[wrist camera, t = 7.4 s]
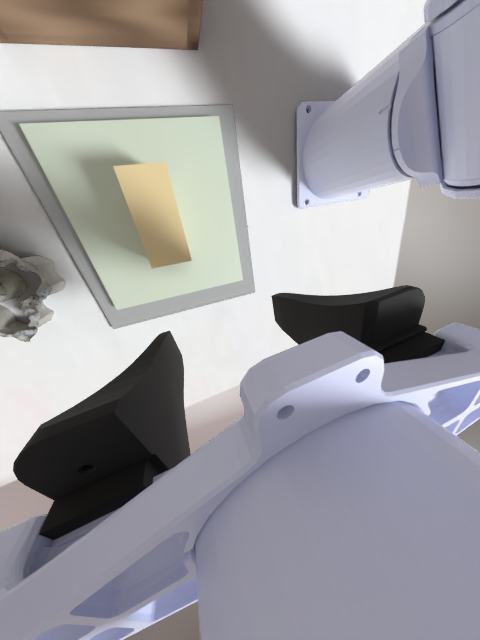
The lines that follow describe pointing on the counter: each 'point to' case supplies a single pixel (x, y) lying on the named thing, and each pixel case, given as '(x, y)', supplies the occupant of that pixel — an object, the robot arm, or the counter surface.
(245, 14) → the counter surface
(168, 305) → the mat
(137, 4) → the box base
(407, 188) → the counter surface
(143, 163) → the lid
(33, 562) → the robot arm
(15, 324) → the egg carton
